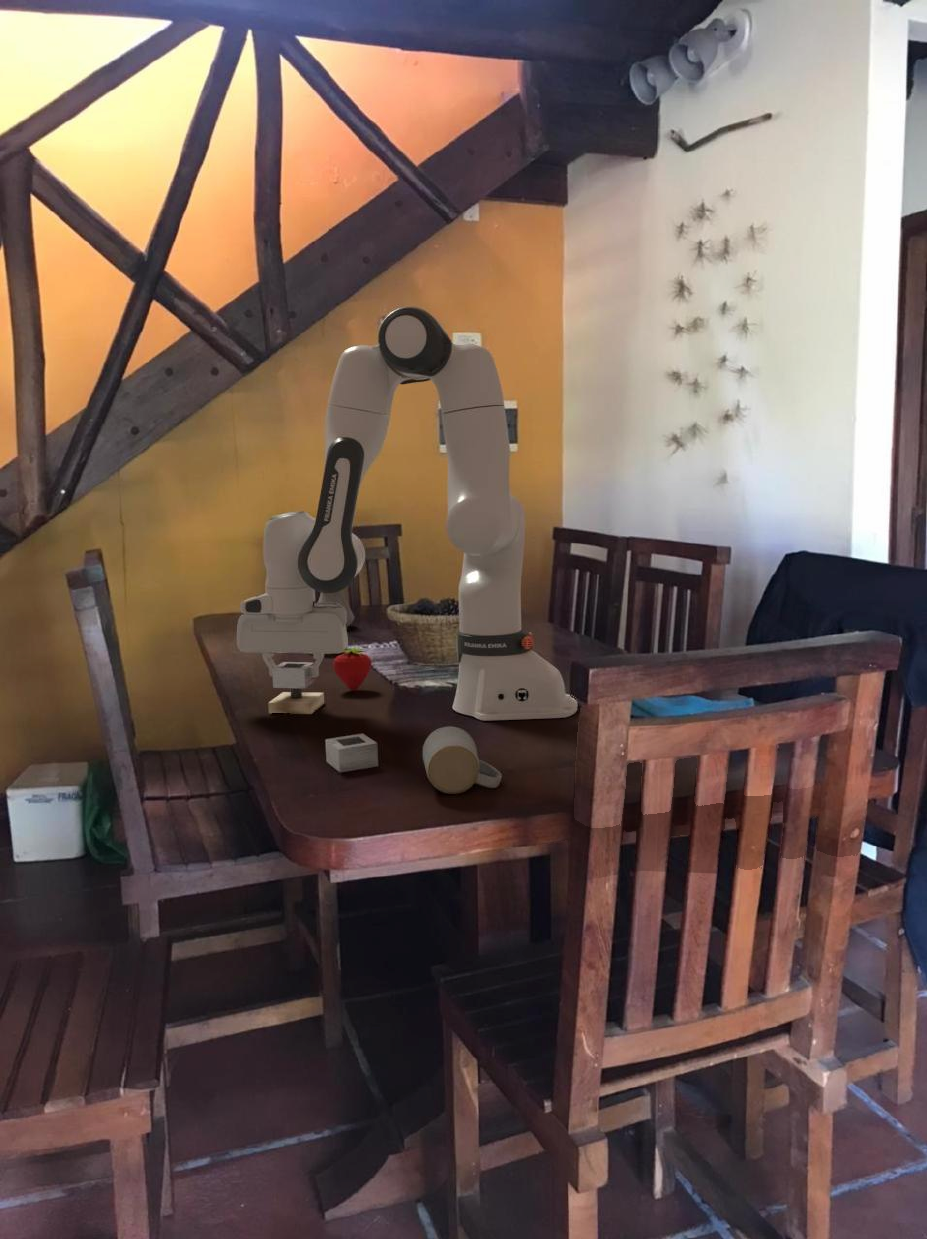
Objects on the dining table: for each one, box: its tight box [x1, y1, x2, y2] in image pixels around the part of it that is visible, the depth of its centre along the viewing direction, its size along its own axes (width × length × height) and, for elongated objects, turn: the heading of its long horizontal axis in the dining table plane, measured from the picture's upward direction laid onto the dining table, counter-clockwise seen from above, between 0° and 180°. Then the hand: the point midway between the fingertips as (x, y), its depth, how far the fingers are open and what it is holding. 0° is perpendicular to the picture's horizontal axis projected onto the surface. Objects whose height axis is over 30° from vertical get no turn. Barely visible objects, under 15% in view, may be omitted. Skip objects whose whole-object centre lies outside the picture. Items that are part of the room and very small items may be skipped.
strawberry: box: [332, 639, 372, 692], centre depth 191 cm, size 6×8×10 cm
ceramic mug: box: [422, 726, 503, 795], centre depth 133 cm, size 11×8×8 cm
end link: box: [272, 661, 316, 690], centre depth 178 cm, size 6×6×4 cm
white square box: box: [324, 733, 379, 774], centre depth 144 cm, size 6×6×4 cm
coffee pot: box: [317, 582, 355, 630], centre depth 259 cm, size 21×12×15 cm, turn 22°
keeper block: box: [267, 688, 325, 715], centre depth 178 cm, size 8×8×7 cm
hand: (294, 676), depth 178 cm, fingers closed on end link, 6 cm apart
